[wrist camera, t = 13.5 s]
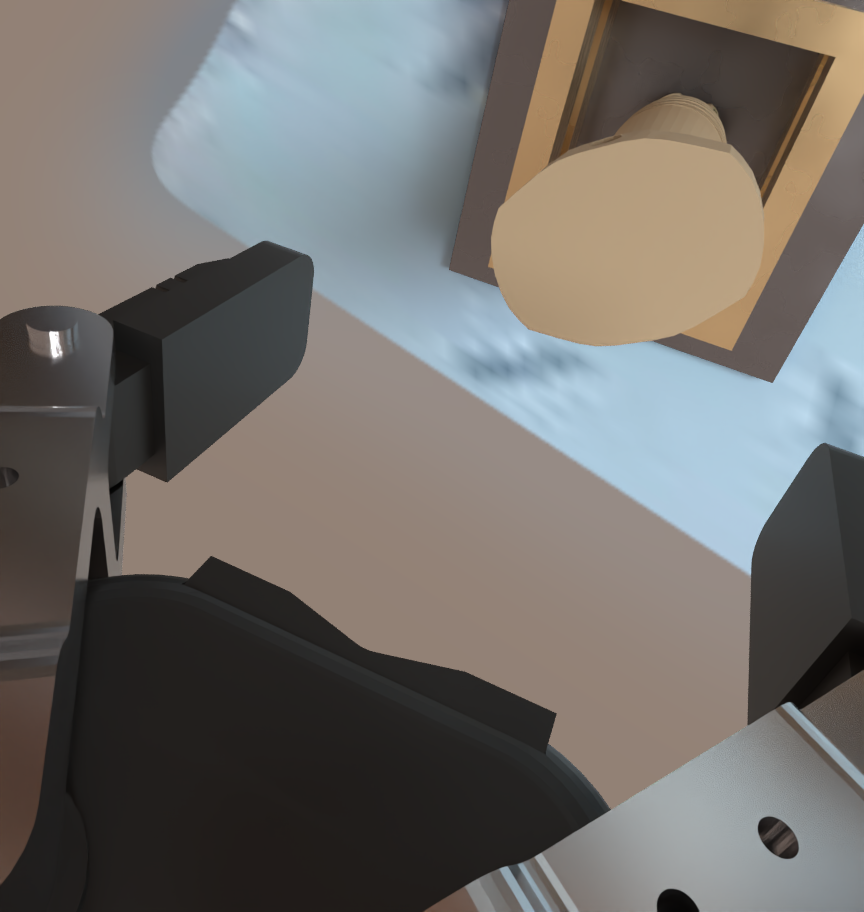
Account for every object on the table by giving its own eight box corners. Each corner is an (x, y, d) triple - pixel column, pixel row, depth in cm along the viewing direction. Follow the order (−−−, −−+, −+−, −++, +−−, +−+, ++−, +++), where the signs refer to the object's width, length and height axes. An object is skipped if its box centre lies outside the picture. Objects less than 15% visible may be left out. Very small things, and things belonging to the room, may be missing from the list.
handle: (771, 177, 29) (772, 324, 17) (609, 213, 32) (516, 358, 20) (761, 43, 26) (754, 107, 15) (588, 94, 29) (470, 181, 18)
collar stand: (555, -176, 26) (505, -212, 21) (1023, -71, 23) (1094, -84, 18) (455, 263, 36) (405, 309, 31) (772, 373, 34) (773, 443, 29)
